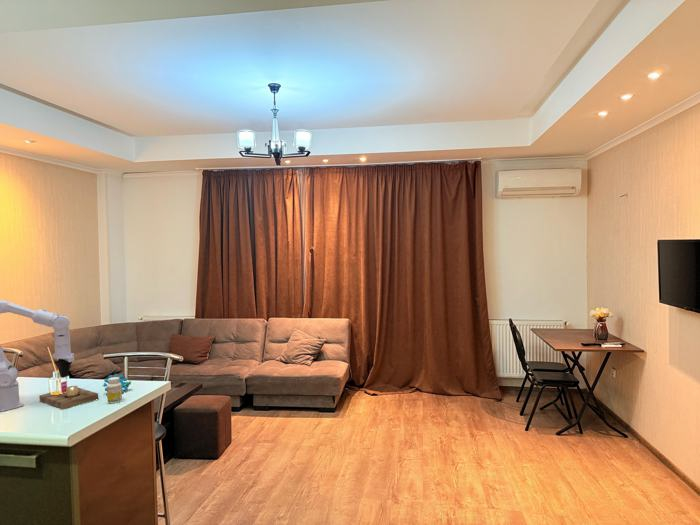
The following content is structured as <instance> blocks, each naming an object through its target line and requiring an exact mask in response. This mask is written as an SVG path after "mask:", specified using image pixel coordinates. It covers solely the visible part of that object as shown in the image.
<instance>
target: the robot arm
mask: <svg viewBox="0 0 700 525" xmlns="http://www.w3.org/2000/svg"><path fill="white" fill-rule="evenodd" d="M5 313H11V314H14V315H18V316H22V317H26V318H29V319H31V320H32V322H33V323H35V324H39V325H42V326H46V327H48V328H51V327H52V329H53V333H54V334H53V339H54V340H53V341H54V342H53V343H54V353H52V359H55V361H54V362H53V363H54V364H55V366H56V368H57V369H58V370H57V371H58V372H59V376H60V378H62V379H63V378H68V377H69V372H70V368H71V366H72V363H73V362H75V356H74V355H75V353H74V352H73V353H72V351H71V350H72V348H71V334H70V327H69V326H70V324H71V320H70V318H69V317H68V316H66V315H64V314H60V313H59V312H58V313H57V312H56V313H54V312H51V311H48V309H47V308H43V309H42V308H39V309H36V310H35V309H31V308H28V307H26V306H23V305H21V304H20V305H19V304H17V303H14V302H11V301H8V300H5V299H0V315H1V314H5ZM18 377H19V370H18V369H17V368H16V367H15V366H14V365H13V364H12V362H11V361H10V360H8V358H7V356H6V355H5V352H4V350H3V348H2V346H1V345H0V412H5V410H6V411H8V410H9V411H10V410H13V409H16V408H17V409H18V408H20V407H21V408H22V407H23V406H25V404H23V403H21V402H20V388H19V382H18V380H17V378H18Z"/></svg>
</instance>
